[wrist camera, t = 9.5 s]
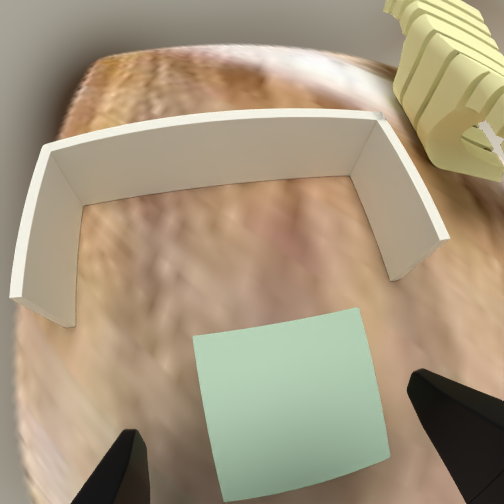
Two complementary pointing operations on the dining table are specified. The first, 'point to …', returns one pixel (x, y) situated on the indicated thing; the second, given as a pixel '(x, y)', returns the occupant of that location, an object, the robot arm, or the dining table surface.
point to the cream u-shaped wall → (215, 184)
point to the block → (290, 404)
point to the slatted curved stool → (451, 84)
